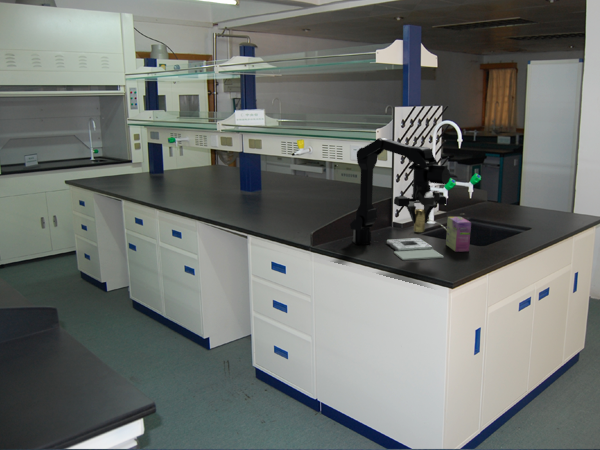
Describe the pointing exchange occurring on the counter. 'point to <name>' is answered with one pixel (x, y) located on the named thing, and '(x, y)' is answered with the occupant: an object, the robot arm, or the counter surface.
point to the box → (458, 234)
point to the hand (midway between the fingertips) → (419, 223)
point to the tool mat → (418, 254)
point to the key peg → (419, 220)
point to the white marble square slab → (408, 244)
